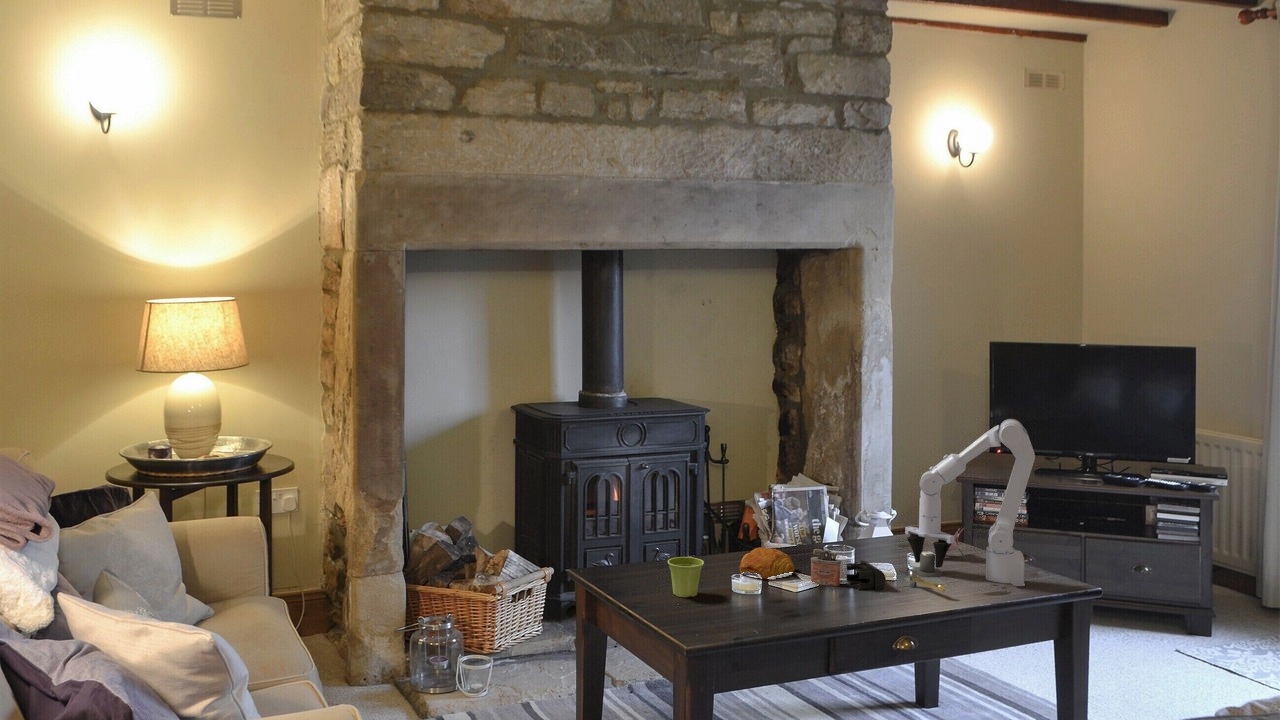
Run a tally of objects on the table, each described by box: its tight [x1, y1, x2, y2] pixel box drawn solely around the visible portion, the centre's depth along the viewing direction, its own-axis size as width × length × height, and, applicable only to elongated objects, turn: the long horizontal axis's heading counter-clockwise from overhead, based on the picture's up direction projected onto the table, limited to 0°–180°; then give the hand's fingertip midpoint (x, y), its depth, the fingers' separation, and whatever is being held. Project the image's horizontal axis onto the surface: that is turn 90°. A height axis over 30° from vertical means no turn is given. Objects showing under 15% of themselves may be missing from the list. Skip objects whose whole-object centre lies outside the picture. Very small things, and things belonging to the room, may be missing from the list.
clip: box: [909, 570, 947, 593], centre depth 289 cm, size 13×2×4 cm, turn 24°
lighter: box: [810, 548, 842, 587], centre depth 297 cm, size 8×3×10 cm, turn 65°
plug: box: [911, 550, 943, 578], centre depth 308 cm, size 8×8×7 cm
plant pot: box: [667, 556, 705, 598], centre depth 289 cm, size 9×9×9 cm
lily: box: [948, 526, 967, 561], centre depth 328 cm, size 12×12×10 cm
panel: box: [903, 577, 950, 589], centre depth 297 cm, size 16×13×1 cm
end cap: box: [846, 559, 887, 591], centre depth 295 cm, size 10×7×7 cm
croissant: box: [738, 546, 796, 580], centre depth 310 cm, size 14×16×8 cm
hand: (928, 564), depth 308 cm, fingers open, 6 cm apart
